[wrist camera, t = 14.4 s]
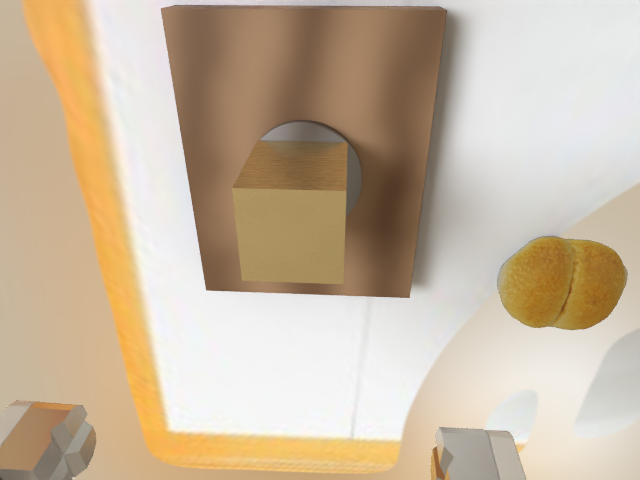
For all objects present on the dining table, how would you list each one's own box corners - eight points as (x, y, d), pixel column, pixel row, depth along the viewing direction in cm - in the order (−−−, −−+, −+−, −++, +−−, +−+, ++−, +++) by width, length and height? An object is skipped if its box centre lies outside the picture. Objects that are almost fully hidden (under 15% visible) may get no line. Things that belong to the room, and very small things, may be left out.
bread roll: (508, 228, 35) (525, 256, 32) (626, 237, 35) (657, 266, 31) (482, 311, 39) (495, 344, 36) (587, 320, 39) (610, 354, 36)
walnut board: (439, 6, 27) (477, 25, 19) (406, 278, 38) (421, 368, 29) (175, 5, 28) (101, 22, 20) (214, 272, 38) (176, 357, 30)
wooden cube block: (347, 142, 28) (346, 191, 22) (344, 222, 31) (343, 284, 25) (257, 140, 28) (231, 188, 22) (262, 219, 31) (242, 280, 25)
